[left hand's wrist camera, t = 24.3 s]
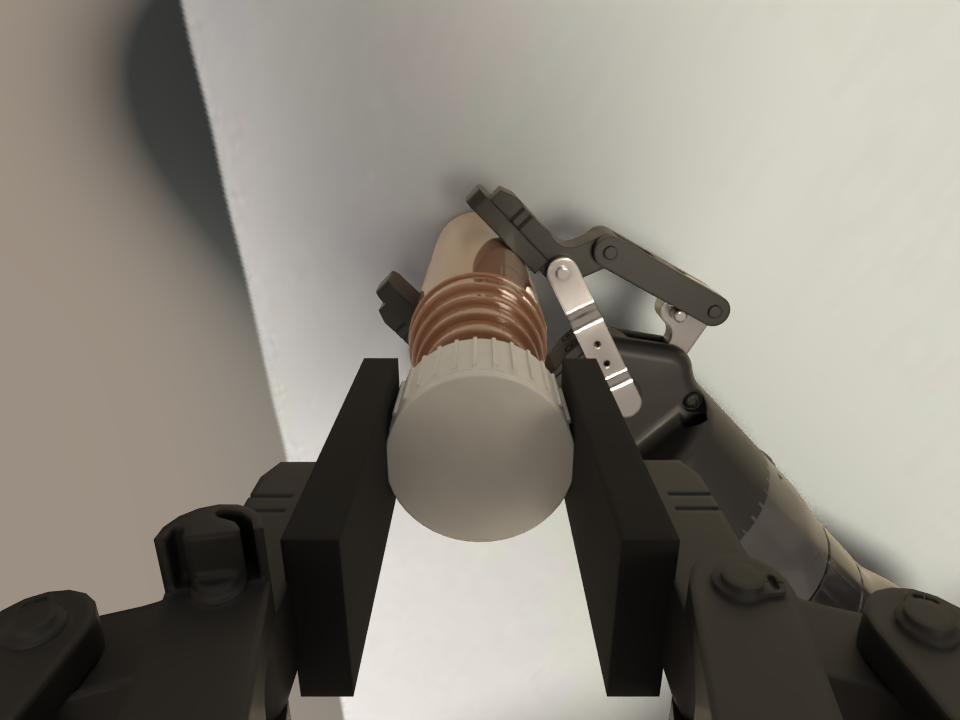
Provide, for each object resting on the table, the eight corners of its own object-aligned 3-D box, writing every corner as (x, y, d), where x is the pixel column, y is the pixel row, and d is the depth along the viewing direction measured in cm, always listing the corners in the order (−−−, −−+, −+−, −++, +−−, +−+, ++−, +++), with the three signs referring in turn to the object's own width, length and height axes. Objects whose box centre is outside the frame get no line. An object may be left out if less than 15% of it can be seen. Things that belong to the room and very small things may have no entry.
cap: (492, 516, 16) (494, 575, 14) (361, 426, 15) (343, 476, 13) (600, 403, 15) (619, 450, 13) (465, 299, 14) (463, 332, 12)
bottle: (470, 192, 31) (457, 305, 13) (539, 247, 32) (618, 423, 14) (417, 263, 32) (340, 455, 14) (486, 313, 33) (494, 554, 15)
